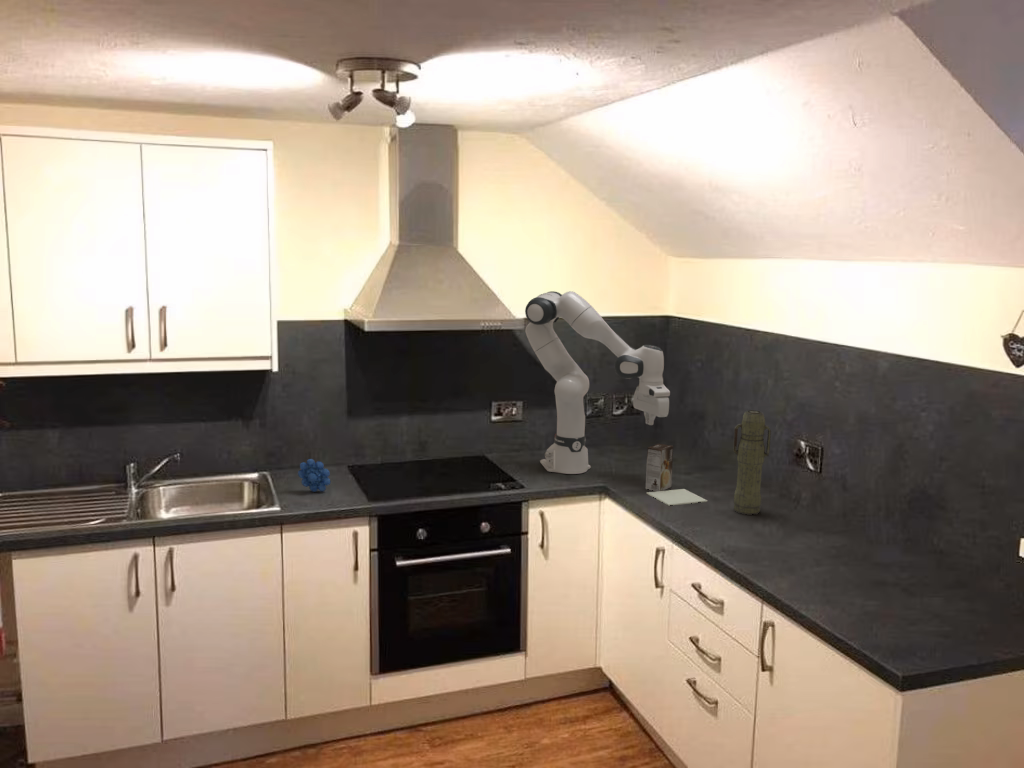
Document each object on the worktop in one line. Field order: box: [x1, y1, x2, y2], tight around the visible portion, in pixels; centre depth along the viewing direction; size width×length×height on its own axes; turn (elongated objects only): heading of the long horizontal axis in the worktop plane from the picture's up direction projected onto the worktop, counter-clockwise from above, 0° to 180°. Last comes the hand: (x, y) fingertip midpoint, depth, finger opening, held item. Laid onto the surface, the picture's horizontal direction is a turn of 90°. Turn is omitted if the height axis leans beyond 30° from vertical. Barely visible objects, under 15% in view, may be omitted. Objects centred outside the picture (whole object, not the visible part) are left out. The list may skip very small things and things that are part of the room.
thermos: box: [732, 409, 772, 516], centre depth 295 cm, size 9×12×35 cm
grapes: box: [297, 458, 331, 493], centre depth 304 cm, size 12×7×12 cm, turn 89°
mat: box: [646, 488, 708, 507], centre depth 311 cm, size 15×16×1 cm
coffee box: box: [645, 443, 674, 492], centre depth 321 cm, size 9×6×16 cm
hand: (649, 424), depth 327 cm, fingers closed
